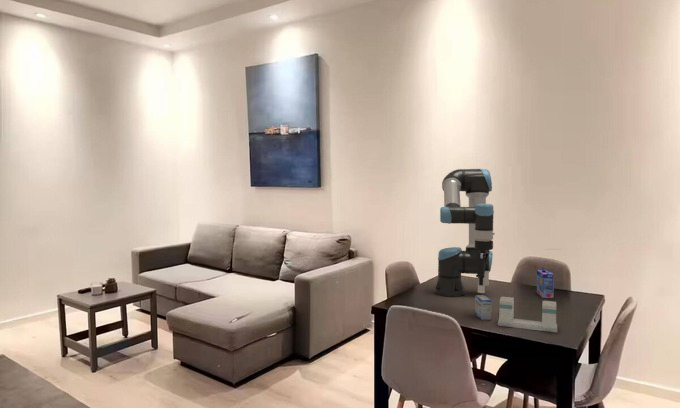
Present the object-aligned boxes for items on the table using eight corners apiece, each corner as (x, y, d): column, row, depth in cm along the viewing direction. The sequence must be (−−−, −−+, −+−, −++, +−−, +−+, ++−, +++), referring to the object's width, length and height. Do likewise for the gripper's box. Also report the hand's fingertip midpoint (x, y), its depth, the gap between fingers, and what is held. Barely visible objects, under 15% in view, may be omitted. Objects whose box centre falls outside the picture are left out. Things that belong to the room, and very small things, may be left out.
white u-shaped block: (497, 325, 189) (498, 300, 189) (499, 319, 197) (500, 296, 196) (557, 332, 180) (557, 307, 179) (556, 326, 187) (557, 301, 187)
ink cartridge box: (535, 292, 238) (536, 265, 237) (547, 293, 238) (547, 265, 237) (542, 298, 229) (542, 269, 227) (553, 298, 228) (554, 269, 227)
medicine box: (474, 314, 204) (474, 295, 203) (484, 314, 204) (484, 294, 204) (481, 320, 196) (481, 300, 196) (491, 319, 197) (491, 299, 196)
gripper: (489, 244, 185) (488, 296, 186) (496, 236, 208) (495, 283, 209) (470, 243, 188) (469, 294, 189) (478, 236, 211) (478, 282, 212)
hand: (483, 289), depth 199 cm, fingers open, 13 cm apart
